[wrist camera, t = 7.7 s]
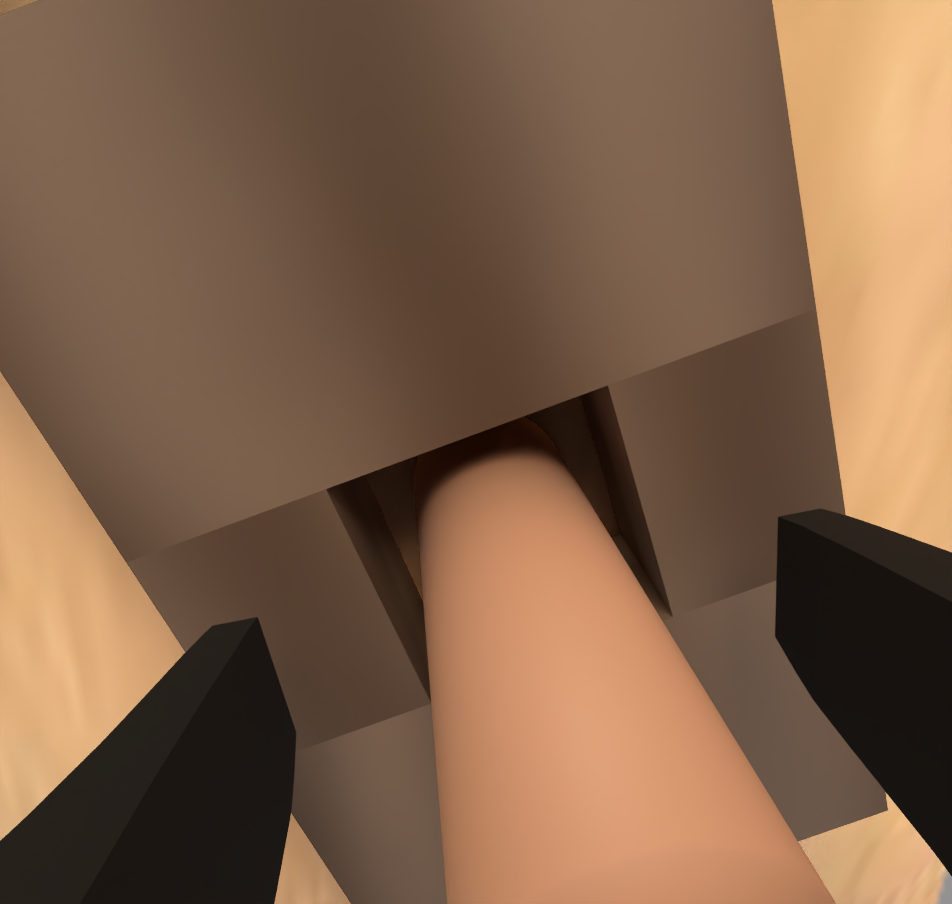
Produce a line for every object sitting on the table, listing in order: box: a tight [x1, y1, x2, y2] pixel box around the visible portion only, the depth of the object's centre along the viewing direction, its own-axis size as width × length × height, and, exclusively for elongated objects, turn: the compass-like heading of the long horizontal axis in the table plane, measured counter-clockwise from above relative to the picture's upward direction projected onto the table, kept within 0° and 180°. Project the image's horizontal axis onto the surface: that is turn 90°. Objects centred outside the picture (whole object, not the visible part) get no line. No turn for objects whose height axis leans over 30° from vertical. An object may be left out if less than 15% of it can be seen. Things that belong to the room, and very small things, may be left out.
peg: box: [414, 416, 836, 904], centre depth 10 cm, size 3×3×10 cm
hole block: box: [0, 0, 888, 904], centre depth 13 cm, size 11×18×3 cm, turn 19°
